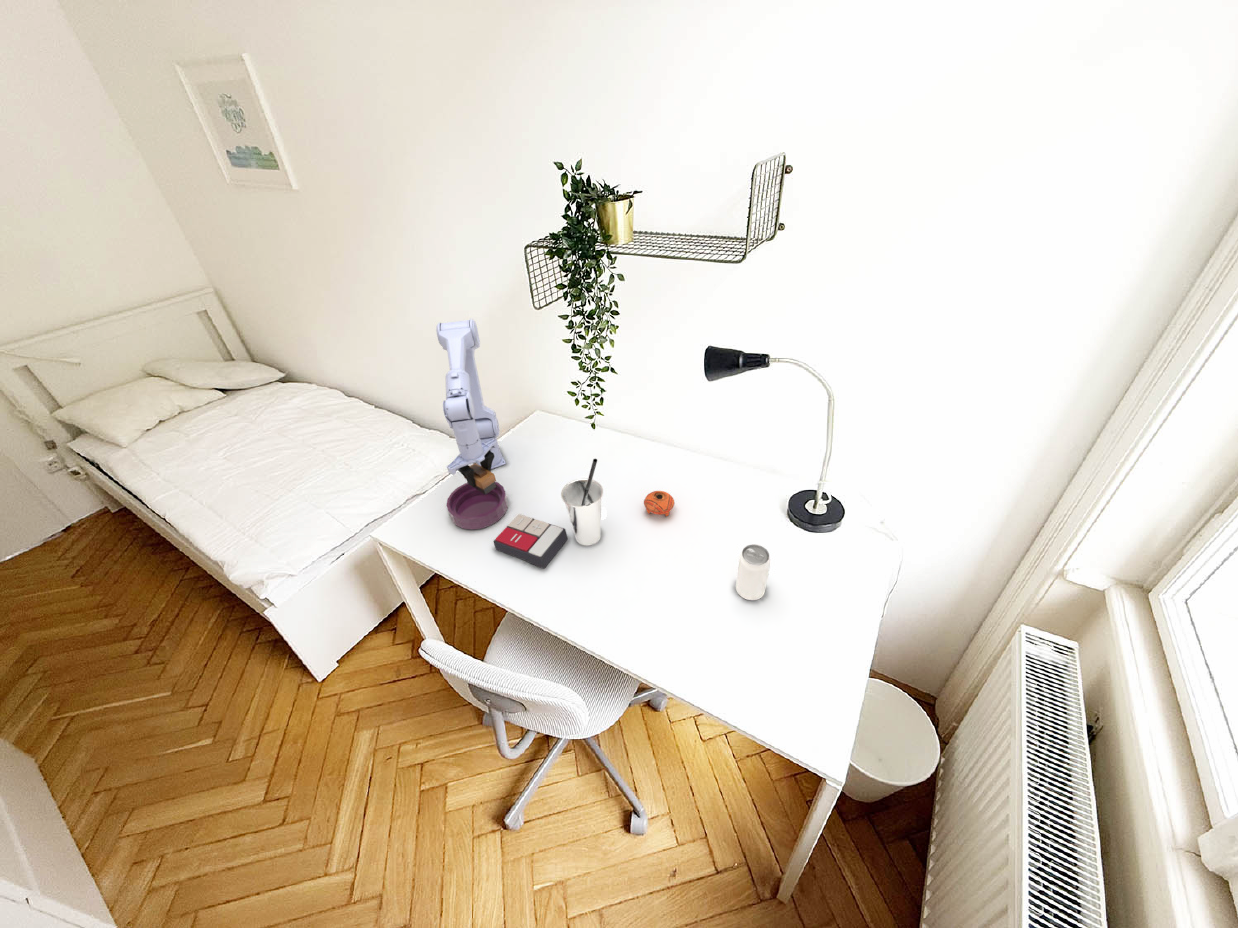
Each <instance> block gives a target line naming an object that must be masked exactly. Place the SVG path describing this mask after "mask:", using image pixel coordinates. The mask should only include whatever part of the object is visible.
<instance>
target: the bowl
mask: <svg viewBox="0 0 1238 928" xmlns="http://www.w3.org/2000/svg"><path fill="white" fill-rule="evenodd" d="M495 484H496V488H494V489H493V490H491V491H490V492H489V493H487V494H486V495H485V494H483V493H481V492H480V491H478V490H477V489H475V488H473V487H472V486H470V485H469V484H468V483H467V482H466V483H463V484H461V485H459V486H457V487H456V488H455V489H454V490H452V492H450V495H449V496H448V498H447V500H446V509H447V512H448V514H449V517H450V520H451V522H452V523H453V524H454V525H455V526H456V527H459V528H461V529H465V530H480V529H484V528H486V527H490V526H492V525H494V524H495V523H497V522H499V520H501V519H502V517H503V516H505V514H506V512H507V510H508V507H509V500H508V497H507V493H506V490H505V488H504V486H503V485H502V484H501V483H500V482H498V481H495Z"/></svg>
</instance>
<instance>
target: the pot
mask: <svg viewBox="0 0 1238 928" xmlns="http://www.w3.org/2000/svg"><path fill="white" fill-rule="evenodd" d="M643 505H644V507H645V510H646V513H647V514H648V515H649V514H650V513H651V514H654V515H660V516H661V515H662V516H663V515H665V517H668V516H669V515H670V512H671V511H672V510H673V508H674V506H675V499H674V497H673V496H672V495H671V493H669V492H667V491H663V490H654V491H651V492H649V493H647V495H646V496H645V498H644V500H643Z"/></svg>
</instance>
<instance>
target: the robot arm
mask: <svg viewBox="0 0 1238 928" xmlns="http://www.w3.org/2000/svg"><path fill="white" fill-rule="evenodd" d="M435 332H436V337H437V341H438V343H439V345H440V346H441V347H442V349H443V350H444V351H446V353H447V359H448V364H449V365H448V367H449V371H448V372H447V373H446V374H445V400H443V401H442V411H443V415H444V418H445V420H446V422H447V423H448V425H449V428H450V429H451V430H452V432H453V436H454V438H455V442H456V444H457V449H458V452H459V454H458V455H457V456H456V457H455V458H454V459H453V460H452V461H451V462H450V463H449V464H448V465H446V470H447V472H448V473H449V474H450V475H452V476H454V475H456V474H457V472H459V473H460V474H461V476H463V478H464V477H465V478H466V479H465V478H464V479H465V480H466V482H467V481H468V483H469V485H471V486H472V487H476V482H475V479H474V469H472V468H470V466H471V465H472V464H474V463H476V464H478V465H480V466H482V467H483V468H485V469H487V470H488V471H490V472H492V470H493V469H495V468H498V467H502V466H505V465H506V460H505V458H504V456H503V454H502V452H501V450H500V446H499V442H498V438H499V436H500V434H501V433H500V432H501V431H500V424H499V420H498V417H497V414H496V413H497V412H496V411H495V410H494V409H492V408H490V407H488V406H486V405H485V402H484V398H483V393H482V388H481V383H480V378H479V372H478V369H477V363H476V358H475V351H476V350H477V349H479V348H480V347H481V339H480V335H479V330H478V326H477V322H476V321H475V320H474V319H473V318H470V319H463V320H457V321H456V320H455V321H449V322H448V321H447V322H438V323H437V324H436V329H435Z"/></svg>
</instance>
